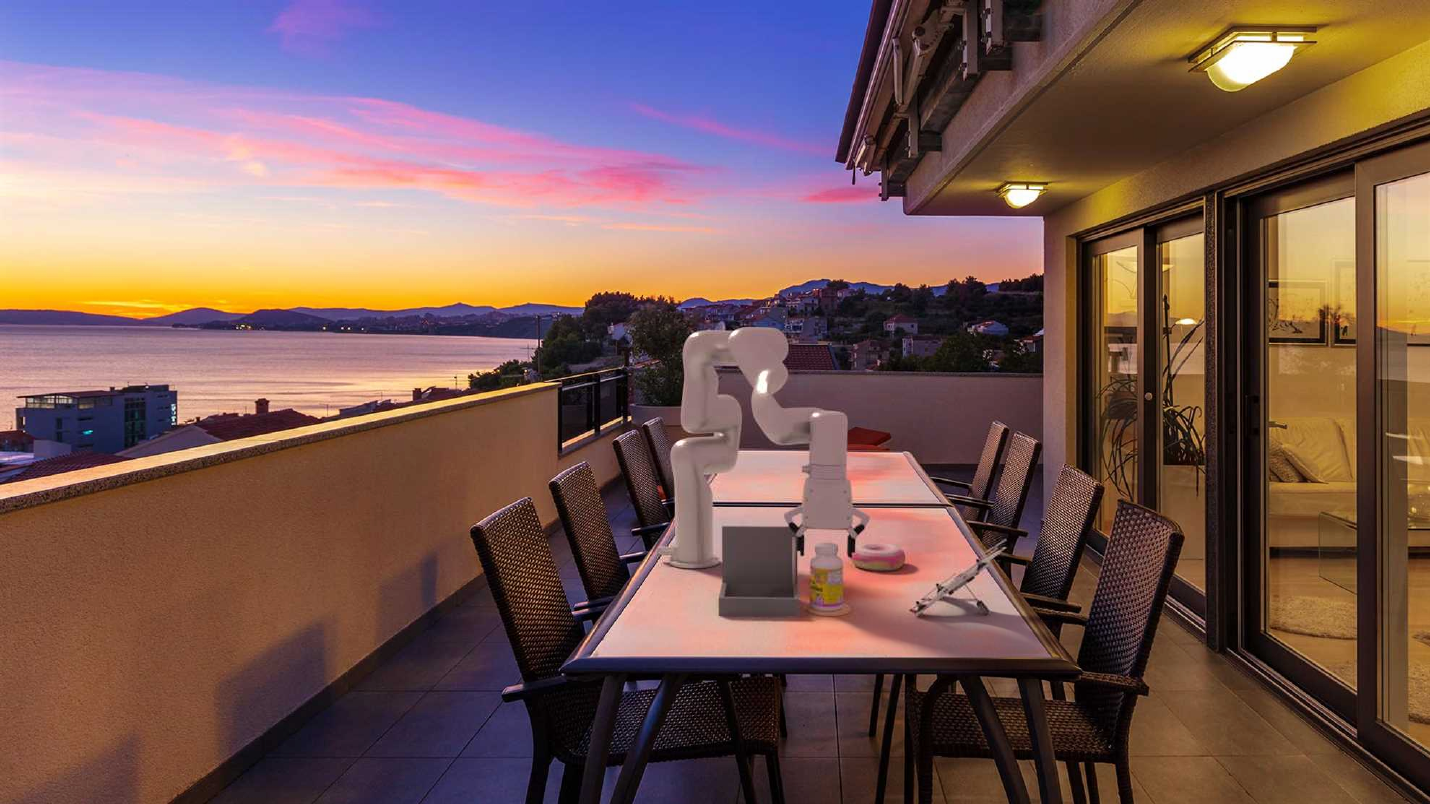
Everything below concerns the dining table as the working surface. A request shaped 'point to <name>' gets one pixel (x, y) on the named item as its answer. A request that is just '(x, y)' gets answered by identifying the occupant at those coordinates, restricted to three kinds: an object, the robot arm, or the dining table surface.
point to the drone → (962, 582)
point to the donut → (878, 556)
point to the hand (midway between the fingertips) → (825, 555)
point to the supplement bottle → (826, 578)
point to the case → (759, 571)
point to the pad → (840, 612)
